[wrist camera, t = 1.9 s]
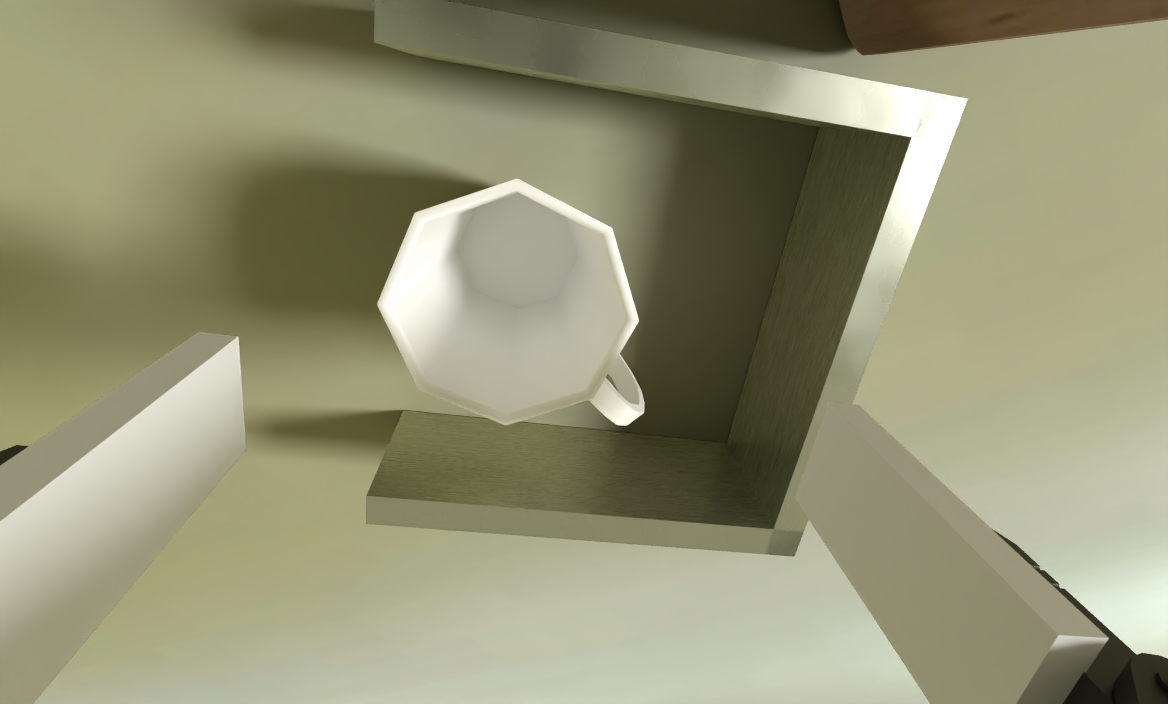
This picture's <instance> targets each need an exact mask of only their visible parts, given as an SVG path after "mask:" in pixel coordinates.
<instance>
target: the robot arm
mask: <svg viewBox="0 0 1168 704" xmlns="http://www.w3.org/2000/svg"><path fill="white" fill-rule="evenodd" d="M245 451H246V440H245V425H244V411H243V397H242V382H241V368H240V353H239V339H238V336H231V335H222V334H213V333H204V332H198V333H196V334H195V335H193V336H192V337H190V338H189V339H187V340H186V341H185V342H183V343H182V344H180V345H179V346H177V347H176V348H174V349H173V350H171V351H170V352H168V353H167V354H165V355H164V356H162V357H161V358H159V359H158V360H156V361H155V362H153V363H152V364H150V365H149V366H147V367H146V368H144V369H143V370H141V371H140V372H138V373H137V374H136V375H134V376H133V377H131V378H130V379H128V380H127V381H125V382H124V383H122V384H121V385H119V386H118V387H116V388H115V389H113V390H112V391H110V392H109V393H107V394H106V395H104V396H103V397H101V398H100V399H98V400H97V401H95V402H94V403H92V404H91V405H89V406H88V407H87V408H85V409H84V410H82V411H81V412H79V413H78V414H76V415H75V416H73V417H72V418H70V419H69V420H67V421H66V422H64V423H63V424H61V425H60V426H58V427H57V428H55V429H54V430H52V431H51V432H49V433H48V434H46V435H45V436H43V437H42V438H40V439H39V440H38V441H36V442H35V443H33V444H32V445H30V446H20V445H16V446H13V447H11V448H8V449H6V450H3V451H1V452H0V704H33V703H34V702H35V701H36V700H37V698H38V697H39V696H40V695H41V694H42V692H43V691H44V690H45V689H46V688H47V686H48V685H49V684H50V683H51V682H52V681H53V679H54V678H55V677H56V676H57V675H58V673H59V672H60V671H61V670H62V669H63V667H64V666H65V665H66V664H67V663H68V661H69V660H70V659H71V658H72V657H73V656H74V654H75V653H76V652H77V651H78V650H79V648H80V647H81V646H82V645H83V644H84V642H85V641H86V640H87V639H88V638H89V636H90V635H91V634H92V633H93V632H94V631H95V629H96V628H97V627H98V626H99V625H100V623H101V622H102V621H103V620H104V619H105V617H106V616H107V615H108V614H109V613H110V611H111V610H112V609H113V608H114V607H115V605H116V604H117V603H118V602H119V601H120V600H121V598H122V597H123V596H124V595H125V594H126V592H127V591H128V590H129V589H130V588H131V586H132V585H133V584H134V583H135V582H136V580H137V579H138V578H139V577H140V576H141V575H142V573H143V572H144V571H145V570H146V569H147V567H148V566H149V565H150V564H151V563H152V561H153V560H154V559H155V558H156V557H157V555H158V554H159V553H160V552H161V551H162V550H163V548H164V547H165V546H166V545H167V544H168V542H169V541H170V540H171V539H172V538H173V536H174V535H175V534H176V533H177V532H178V530H179V529H180V528H181V527H182V526H183V525H184V523H185V522H186V521H187V520H188V519H189V517H190V516H191V515H192V514H193V513H194V511H195V510H196V509H197V508H198V507H199V505H200V504H201V503H202V502H203V501H204V499H205V498H206V497H207V496H208V495H209V494H210V492H211V491H212V490H213V489H214V488H215V486H216V485H217V484H218V483H219V482H220V480H221V479H222V478H223V477H224V476H225V474H226V473H227V472H228V471H229V470H230V469H231V467H232V466H233V465H234V464H235V463H236V461H237V460H238V459H239V458H240V457H241V455H242V454H243V453H244V452H245ZM795 499H796V501H797V502H798V504H799V505H800V507H801V508H802V510H803V511H804V513H805V514H806V516H807V517H808V519H809V520H810V522H811V523H812V525H813V526H814V528H815V529H816V531H817V532H818V534H819V535H820V537H821V538H822V540H823V542H824V543H825V545H826V546H827V548H828V549H829V551H830V552H831V554H832V555H833V557H834V558H835V560H836V561H837V563H838V564H839V566H840V567H841V569H842V570H843V572H844V573H845V575H846V576H847V578H848V579H849V581H850V582H851V584H852V586H853V587H854V589H855V590H856V592H857V593H858V595H859V596H860V598H861V599H862V601H863V602H864V604H865V605H866V607H867V608H868V610H869V611H870V613H871V614H872V616H873V617H874V619H875V620H876V622H877V623H878V625H879V627H880V628H881V630H882V631H883V633H884V634H885V636H886V637H887V639H888V640H889V642H890V643H891V645H892V646H893V648H894V649H895V651H896V652H897V654H898V655H899V657H900V658H901V660H902V661H903V663H904V664H905V666H906V667H907V669H908V671H909V672H910V674H911V675H912V677H913V678H914V680H915V681H916V683H917V684H918V686H919V687H920V689H921V690H922V692H923V693H924V695H925V696H926V698H927V699H928V701H929V702H930V704H1168V659H1167V658H1164V657H1162V656H1159V655H1152V654H1145V653H1141V654H1138V655H1136V654H1135V653H1134V652H1133V651H1132V650H1131V649H1130V648H1129V647H1127V646H1126V645H1125V644H1124V643H1123V642H1122V641H1121V640H1120V639H1119V638H1118V637H1117V636H1115V635H1114V634H1113V633H1112V632H1111V631H1110V630H1109V629H1108V628H1107V627H1106V626H1105V625H1103V624H1102V623H1101V622H1100V621H1099V620H1098V619H1097V618H1096V617H1095V616H1094V615H1093V614H1091V613H1090V612H1089V611H1088V610H1087V609H1086V608H1085V607H1084V606H1083V605H1082V604H1080V603H1079V602H1078V601H1077V600H1076V599H1075V598H1074V597H1073V596H1072V595H1071V594H1070V593H1068V592H1067V591H1066V590H1065V589H1061V588H1060V587H1059V583H1058V582H1056V581H1055V580H1054V579H1053V578H1052V577H1051V576H1050V575H1049V574H1048V573H1047V572H1046V571H1044V570H1040V568H1039V567H1040V566H1039V565H1038V564H1037V563H1036V562H1035V561H1034V560H1032V559H1031V558H1030V557H1029V556H1028V555H1027V554H1026V553H1025V552H1024V551H1023V550H1021V549H1020V548H1019V547H1018V546H1017V545H1016V544H1014V543H1013V542H1011V541H1010V540H1008V539H1007V538H1005V537H1004V536H1002V535H1000V534H999V533H997V532H996V531H994V530H993V529H991V528H990V527H989V526H988V525H987V524H986V523H985V522H984V521H983V520H981V519H980V518H979V517H978V516H977V515H976V514H975V513H974V512H973V511H972V510H971V509H970V508H969V507H967V506H966V505H965V504H964V503H963V502H962V501H961V500H960V499H959V498H958V497H957V496H956V495H955V494H953V493H952V492H951V491H950V490H949V489H948V488H947V487H946V486H945V485H944V484H943V483H942V482H941V481H940V480H938V479H937V478H936V477H935V476H934V475H933V474H932V473H931V472H930V471H929V470H928V469H927V468H926V467H924V466H923V465H922V464H921V463H920V462H919V461H918V460H917V459H916V458H915V457H914V456H913V455H912V454H910V453H909V452H908V451H907V450H906V449H905V448H904V447H903V446H902V445H901V444H900V443H899V442H898V441H897V440H895V439H894V438H893V437H892V436H891V435H890V434H889V433H888V432H887V431H886V430H885V429H884V428H883V427H881V426H880V425H879V424H878V423H877V422H876V421H875V420H874V419H873V418H872V417H871V416H870V415H869V414H867V413H866V412H865V411H864V410H863V409H862V408H861V407H860V406H859V405H853V404H844V403H835V402H828V405H827V407H826V410H825V413H824V416H823V419H822V422H821V425H820V427H819V430H818V433H817V436H816V439H815V442H814V444H813V447H812V450H811V453H810V456H809V459H808V462H807V464H806V467H805V470H804V473H803V476H802V479H801V482H800V484H799V487H798V490H797V493H796V496H795Z"/></svg>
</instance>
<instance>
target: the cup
mask: <svg viewBox="0 0 1168 704" xmlns="http://www.w3.org/2000/svg"><path fill="white" fill-rule="evenodd" d="M377 306H378V308H379V310H380V312H381V314H382V316H383V318H384V320H385V322H386V324H387V326H388V328H389V330H390V332H391V334H392V336H393V338H394V341H395V343H396V345H397V347H398V349H399V351H400V353H401V355H402V357H403V359H404V361H405V363H406V365H407V367H408V369H409V371H410V374H411V376H412V378H413V380H414V382H415V384H416V386H417V388H418V390H419V391H422V392H424V393H427V394H429V395H432V396H434V397H437V398H439V399H442V400H444V401H447V402H449V403H451V404H454V405H456V406H459V407H461V408H464V409H466V410H469V411H471V412H474V413H476V414H478V415H481V416H483V417H486V418H488V419H491V420H493V421H496V422H498V423H501V424H503V425H509V424H513V423H516V422H519V421H522V420H526V419H529V418H532V417H535V416H539V415H542V414H545V413H548V412H552V411H555V410H558V409H561V408H565V407H568V406H571V405H574V404H578V403H581V402H584V401H587V400H589V401H590V402H591V403H592V404H593V405H594V406H595V407H596V408H597V409H598V410H599V411H600V412H601V413H602V414H603V415H604V416H606V417H607V418H608V419H610V420H611V421H612V422H613V423H615V424H616V425H624V426H627V425H628V424H630V423H631V422H632V421H634V420H635V419H636V418H638V417H639V416H641V415H642V414H643V413H644V404H645V402H644V399H643V395H642V391H641V389H640V387H639V385H638V383H637V381H636V379H635V377H634V375H633V373H632V372H631V370H630V369H629V367H628V366H627V364H626V362H625V361H624V359H623V358H622V356H621V355H620V352H621V351H622V349H623V347H624V346H625V344H626V342H627V341H628V339H629V337H630V335H631V334H632V332H633V330H634V329H635V327H636V325H637V324H638V322H639V319H638V315H637V312H636V308H635V305H634V302H633V298H632V295H631V291H630V288H629V284H628V281H627V277H626V274H625V270H624V267H623V264H622V260H621V257H620V253H619V250H618V246H617V243H616V239H615V236H614V233H613V229H612V228H611V227H609V226H607V225H605V224H603V223H602V222H600V221H598V220H596V219H594V218H592V217H590V216H588V215H586V214H584V213H582V212H580V211H578V210H577V209H575V208H573V207H571V206H569V205H567V204H565V203H563V202H561V201H559V200H557V199H555V198H554V197H552V196H550V195H548V194H546V193H544V192H542V191H540V190H538V189H536V188H534V187H532V186H531V185H529V184H527V183H525V182H523V181H521V180H519V179H514V180H511V181H508V182H505V183H502V184H499V185H496V186H493V187H490V188H487V189H484V190H481V191H478V192H475V193H472V194H469V195H466V196H463V197H460V198H457V199H454V200H451V201H448V202H445V203H442V204H439V205H436V206H433V207H430V208H427V209H424V210H421V211H418V212H415V213H414V216H413V218H412V221H411V223H410V225H409V228H408V230H407V233H406V235H405V238H404V240H403V242H402V245H401V247H400V250H399V252H398V255H397V257H396V259H395V262H394V264H393V267H392V269H391V271H390V274H389V276H388V279H387V281H386V284H385V286H384V288H383V291H382V293H381V296H380V298H379V301H378V303H377ZM608 374H609V375H610V377H611V378H612V380H613V382H614V384H615V386H616V388H617V390H618V391H617V390H616V389H615V388H614V387H613V385H612V384H611V383H610V382H609V381H608V380H607V379H606V376H607V375H608Z"/></svg>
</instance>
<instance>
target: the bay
mask: <svg viewBox="0 0 1168 704" xmlns="http://www.w3.org/2000/svg"><path fill="white" fill-rule="evenodd" d="M374 42H375V43H378V44H381V45H384V46H387V47H390V48H393V49H397V50H400V51H403V52H406V53H409V54H412V55H415V56H418V57H424V58H429V59H435V60H441V61H446V62H452V63H458V64H464V65H469V66H475V67H481V68H486V69H492V70H498V71H503V72H509V73H515V74H521V75H526V76H532V77H538V78H543V79H549V80H555V81H560V82H566V83H572V84H578V85H583V86H589V87H595V88H600V89H606V90H612V91H617V92H623V93H629V94H635V95H640V96H646V97H652V98H657V99H663V100H669V101H675V102H680V103H686V104H692V105H697V106H703V107H709V108H714V109H720V110H726V111H732V112H737V113H743V114H749V115H754V116H760V117H766V118H771V119H777V120H783V121H789V122H794V123H800V124H806V125H811V126H817V127H819V131H818V134H817V138H816V141H815V144H814V148H813V151H812V155H811V158H810V161H809V165H808V168H807V172H806V175H805V178H804V182H803V185H802V189H801V192H800V195H799V199H798V202H797V206H796V209H795V212H794V216H793V219H792V223H791V226H790V230H789V233H788V236H787V240H786V243H785V247H784V250H783V253H782V257H781V260H780V264H779V267H778V270H777V274H776V277H775V281H774V284H773V287H772V291H771V294H770V298H769V301H768V304H767V308H766V311H765V315H764V318H763V321H762V325H761V328H760V332H759V335H758V338H757V342H756V345H755V349H754V352H753V356H752V359H751V362H750V366H749V369H748V373H747V376H746V379H745V383H744V386H743V390H742V393H741V396H740V400H739V403H738V407H737V410H736V413H735V417H734V420H733V424H732V427H731V430H730V434H729V437H728V441H727V443H723V442H713V441H703V440H693V439H684V438H674V437H664V436H654V435H644V434H634V433H624V432H614V431H604V430H594V429H584V428H574V427H564V426H554V425H544V424H535V423H525V422H516V423H513V424H509V425H503V424H501V423H498V422H496V421H493V420H491V419H485V418H475V417H465V416H455V415H445V414H435V413H425V412H415V411H405V410H403V412H402V415H401V417H400V419H399V422H398V424H397V426H396V428H395V431H394V433H393V435H392V438H391V440H390V442H389V445H388V447H387V449H386V452H385V454H384V456H383V459H382V461H381V463H380V466H379V468H378V470H377V473H376V475H375V477H374V480H373V482H372V484H371V486H370V489H369V491H368V493H367V496H366V524H376V525H389V526H402V527H415V528H428V529H442V530H455V531H468V532H481V533H494V534H507V535H520V536H533V537H546V538H559V539H573V540H586V541H599V542H612V543H625V544H638V545H651V546H664V547H677V548H690V549H704V550H717V551H730V552H743V553H756V554H769V555H782V556H795V553H796V551H797V548H798V545H799V543H800V540H801V537H802V535H803V532H804V530H805V527H806V524H807V522H808V517H807V516H806V514H805V513H804V511H803V510H802V508H801V507H800V505H799V504H798V502H797V501H796V499H795V496H796V493H797V490H798V487H799V484H800V482H801V479H802V476H803V473H804V470H805V467H806V464H807V462H808V459H809V456H810V453H811V450H812V447H813V444H814V442H815V439H816V436H817V433H818V430H819V427H820V425H821V422H822V419H823V416H824V413H825V410H826V407H827V405H828V402H835V403H844V404H852V403H853V400H854V398H855V395H856V392H857V390H858V387H859V384H860V382H861V379H862V376H863V374H864V371H865V368H866V366H867V363H868V361H869V358H870V355H871V353H872V350H873V347H874V345H875V342H876V339H877V337H878V334H879V332H880V329H881V326H882V324H883V321H884V318H885V316H886V313H887V310H888V308H889V305H890V302H891V300H892V297H893V295H894V292H895V289H896V287H897V284H898V281H899V279H900V276H901V273H902V271H903V268H904V266H905V263H906V260H907V258H908V255H909V252H910V250H911V247H912V244H913V242H914V239H915V236H916V234H917V231H918V229H919V226H920V223H921V221H922V218H923V215H924V213H925V210H926V207H927V205H928V202H929V200H930V197H931V194H932V192H933V189H934V186H935V184H936V181H937V178H938V176H939V173H940V171H941V168H942V165H943V163H944V160H945V157H946V155H947V152H948V149H949V147H950V144H951V141H952V139H953V136H954V134H955V131H956V128H957V126H958V123H959V120H960V118H961V115H962V112H963V110H964V107H965V105H966V102H967V99H965V98H960V97H955V96H949V95H944V94H939V93H934V92H928V91H923V90H918V89H912V88H907V87H902V86H896V85H891V84H886V83H880V82H875V81H870V80H864V79H859V78H854V77H848V76H843V75H838V74H833V73H827V72H822V71H817V70H811V69H806V68H801V67H795V66H790V65H785V64H779V63H774V62H769V61H763V60H758V59H753V58H748V57H742V56H737V55H732V54H726V53H721V52H716V51H710V50H705V49H700V48H694V47H689V46H684V45H678V44H673V43H668V42H662V41H657V40H652V39H647V38H641V37H636V36H631V35H625V34H620V33H615V32H609V31H604V30H599V29H593V28H588V27H583V26H577V25H572V24H567V23H561V22H556V21H551V20H546V19H540V18H535V17H530V16H524V15H519V14H514V13H508V12H503V11H498V10H492V9H487V8H482V7H476V6H471V5H466V4H461V3H455V2H450V1H445V0H375V6H374Z"/></svg>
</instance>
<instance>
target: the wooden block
mask: <svg viewBox="0 0 1168 704" xmlns="http://www.w3.org/2000/svg"><path fill="white" fill-rule="evenodd" d="M838 1H839V5H840V9H841V12H842V16H843V20H844V24H845V28H846V32H847V36H848V38H849V39H850V41H851V42H852V44H853V45H854V47H855V48H856V50H857V51H858V52H859V53H861V54H862V55H874V54H887V53H896V52H904V51H912V50H920V49H929V48H937V47H945V46H953V45H962V44H970V43H978V42H986V41H995V40H1003V39H1011V38H1019V37H1028V36H1036V35H1044V34H1052V33H1061V32H1069V31H1077V30H1085V29H1094V28H1102V27H1110V26H1118V25H1127V24H1135V23H1143V22H1151V21H1160V20H1168V0H838Z"/></svg>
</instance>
